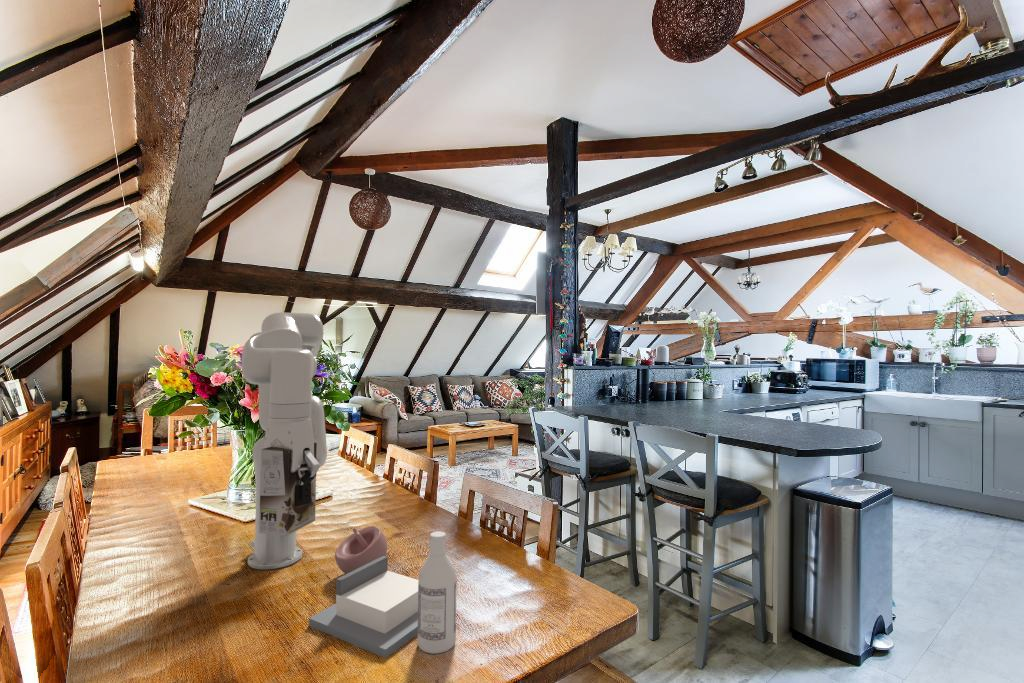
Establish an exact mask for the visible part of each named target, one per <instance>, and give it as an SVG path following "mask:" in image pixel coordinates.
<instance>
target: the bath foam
mask: <svg viewBox="0 0 1024 683" xmlns="http://www.w3.org/2000/svg"><path fill="white" fill-rule="evenodd" d="M418 580H419V581H418V634H417V645H418V647H419V649H420V650H421V651H422V652H425V653H427V654H434V655H435V654H442V653H445V652H448V651H449V650H451V649H452V648H453V647H454V646H455V644H456V640H457V586H458V585H457V583H458V582H457V573H456V568H455V565H454V563H453V562H452V560H451V559H450V557H449V556H448V554H447V534H446V532H444V531H439V530H438V531H433V532H431V533H430V535H429V555H428V556H427V557H426V559H425V561H424V562H423V563H422V566H421V569H420V571H419V574H418Z"/></svg>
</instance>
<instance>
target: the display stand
mask: <svg viewBox="0 0 1024 683" xmlns="http://www.w3.org/2000/svg"><path fill="white" fill-rule="evenodd" d="M388 558H389V557H388V556H387V555H386V556H382V557H380V558H378V559H376V560H374V561H372V562H370V563H368V564H366V565H364V566H362V567H360V568H358V569H356V570H354V571H352V572H350V573H348V574H344V575H341V576H339V577H337V578H336V580H335V581H336V582H335V584H336V585H335V590H336V591H335V603H334V604H333V605H330V606H329V607H326V608H325V609H323V610H321V611H320V612H318V613H316V614H314V615H312V616H311V617H309V618H308V627H311V628H312V629H315V630H318V631H319V630H320V632H321V633H324V632H325V634H327V635H329V634H330V635H329V636H331V635H332V637H334V638H336V637H337V638H336V639H338V638H339V639H338V640H341V641H343V642H346V643H348V644H350V645H353V646H356V647H358V648H360V649H363V650H365V651H367V652H370V653H372V654H374V655H377V656H379V657H382V658H384V659H386V658H388V657H389V656H390V655H392V654H393V653H394V652H397V650H399V649H400V648H401V647H403V645H405V644H407V643H408V642H409V641H410V640H412V639H413V638H415V637H416V636H418V581H419V579H416V578H413V577H410V576H407V575H403V574H400V573H396V572H395V571H391V570H389V569H388V568H389V567H388V566H389V565H388V562H389V561H388V560H389V559H388ZM414 636H415V637H414Z"/></svg>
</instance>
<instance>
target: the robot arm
mask: <svg viewBox="0 0 1024 683" xmlns="http://www.w3.org/2000/svg"><path fill="white" fill-rule="evenodd" d="M323 340H324V325H323V322H322V319H320V317H319V316H318V315H316V314H314V313H309V312H308V313H303V312H302V313H301V312H281V311H280V312H274V313H270V314H269V315H267V316H266V317H265V318H264V319H263V320H262V324H261V331H259V332H256V333H253V334H251V336H250V337H249V339H248V340H247V341H246V342H244V346H243V349H242V353H241V372H242V376H243V379H244V380H245V381H246V382H247V383H250V384H252V385H257V386H258V420H259V425H260V428H261V429H262V430H263V431H265V435H264V436H263V437H260V438H259V439H258V440H256V442H255V443H254V445H253V447H252V462H253V468H254V477H255V520H254V522H255V523H254V524H255V526H254V527H255V529H254V530H255V531H254V533H255V534H254V540H251V541H250V542H249V544H248V545H249V546H250V547H252V548H253V552H252V554H250V555H249V556H248V558H247V565H248V566H249V568H252V569H255V570H276V569H280V568H285V567H288V566H291V565H293V564H295V563H297V562H298V561H299V560H300V559H301V558H302V557H303V549H302V548H301V547H299V546H297V531H295V532H293V533H291V534H289V535H288V536H280V535H272V534H264V533H259V518H260V482H261V449H264V448H268V447H274V448H283V449H289V450H291V461H292V462H291V473H294V472H295V471H296V481H297V484H298V485H295V506H302V505H305V504H308V503H310V502H311V483H313V479H314V478H315V476H316V477H317V473H318V471H319V469H320V468H321V467H323V466H324V465H325V464H326V461H327V458H328V457H327V456H328V452H327V451H328V447H327V446H328V445H327V444H328V443H327V435H326V434H327V433H326V432H327V430H326V421H325V420H326V418H325V410H324V409H325V408H324V405H323V402H322V400H321V399H320V398H319V397H318V396H317V395H312V379H313V378H314V376H315V375H316V374H317V366H318V364H317V357H318V355H319V352H320V348H321V345H322V343H323ZM314 443H317V451H316V459H315V458H314ZM301 464H302V465H304V467H303V468H300V466H301ZM301 472H304V473H305V474H304V476H303V477H302V475H301Z"/></svg>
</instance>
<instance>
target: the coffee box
mask: <svg viewBox="0 0 1024 683" xmlns="http://www.w3.org/2000/svg"><path fill="white" fill-rule="evenodd" d="M316 451H317V443H314V458H315V459H316ZM291 462H292V461H291V450H289V449H283V448H274V447H268V448H264V449H261V482H260V518H259V533H264V534H272V535H280V536H288V535H289V534H291V533H293V532H295V531H296V532H297V531H299V530H301V529H302V528H305V527H306V526H308V525H310V524H312V523H314V522H315V521H316V502H317V500H316V498H317V497H316V496H317V494H316V492H317V488H316V487H317V475H316V476H315V478H314V479H313V483H311V502H310V503H308V504H305V505H302V506H295V485H298V484H297V481H296V471H295V472H294V473H291ZM303 467H304V465H302V464H301V466H300V468H303ZM304 474H305V473H304V472H301V475H302V477H303V476H304Z"/></svg>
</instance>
